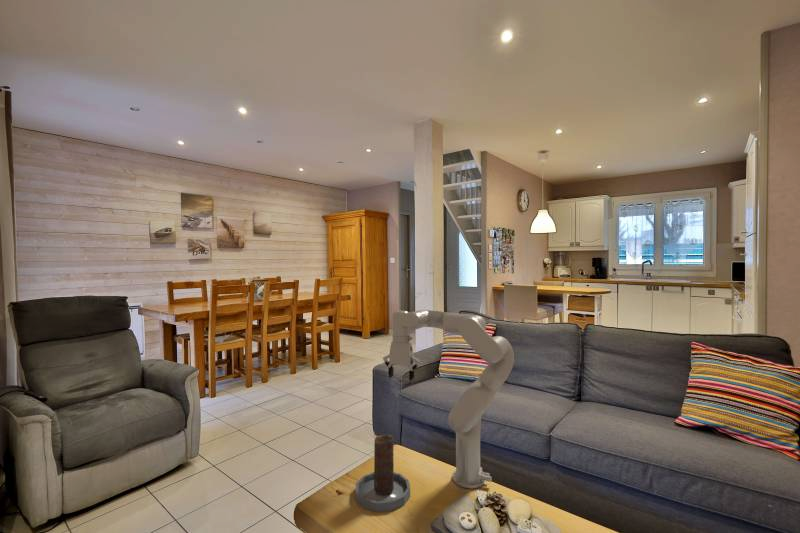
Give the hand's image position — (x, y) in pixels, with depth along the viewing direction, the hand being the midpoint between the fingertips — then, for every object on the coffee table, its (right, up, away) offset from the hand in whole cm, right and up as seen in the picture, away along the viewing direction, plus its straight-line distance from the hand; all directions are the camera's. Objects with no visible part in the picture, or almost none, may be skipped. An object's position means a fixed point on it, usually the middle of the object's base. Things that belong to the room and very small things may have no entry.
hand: (401, 378), depth 159 cm
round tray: (-7, -36, -24) cm, 44 cm away
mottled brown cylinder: (-7, -35, -24) cm, 43 cm away
